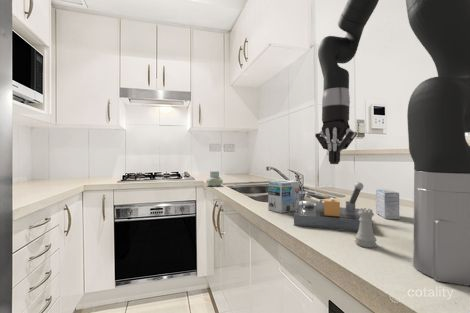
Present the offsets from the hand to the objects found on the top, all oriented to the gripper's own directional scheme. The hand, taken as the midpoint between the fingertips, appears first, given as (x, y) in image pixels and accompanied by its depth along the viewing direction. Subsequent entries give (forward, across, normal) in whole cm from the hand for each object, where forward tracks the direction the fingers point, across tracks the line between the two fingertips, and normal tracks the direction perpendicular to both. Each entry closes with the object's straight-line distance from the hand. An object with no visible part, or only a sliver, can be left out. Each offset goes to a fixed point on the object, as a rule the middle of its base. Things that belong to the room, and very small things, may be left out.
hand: (334, 164), depth 73 cm
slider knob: (+14, +1, -3) cm, 15 cm away
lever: (+14, 0, +9) cm, 16 cm away
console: (+18, -1, +1) cm, 18 cm away
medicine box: (+18, +4, +23) cm, 30 cm away
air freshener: (+20, -99, +14) cm, 102 cm away
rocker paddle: (+12, -4, -1) cm, 13 cm away
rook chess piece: (+18, +15, -10) cm, 25 cm away
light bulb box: (+18, -21, 0) cm, 28 cm away
